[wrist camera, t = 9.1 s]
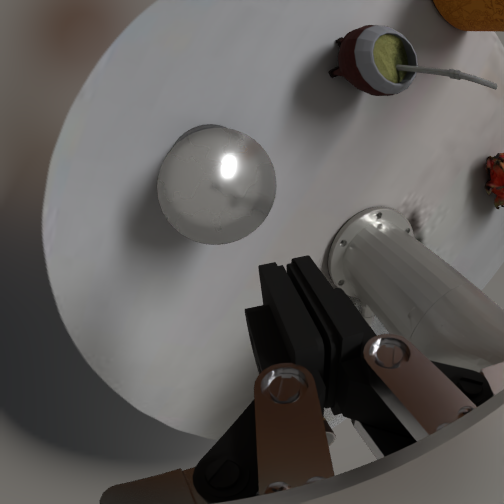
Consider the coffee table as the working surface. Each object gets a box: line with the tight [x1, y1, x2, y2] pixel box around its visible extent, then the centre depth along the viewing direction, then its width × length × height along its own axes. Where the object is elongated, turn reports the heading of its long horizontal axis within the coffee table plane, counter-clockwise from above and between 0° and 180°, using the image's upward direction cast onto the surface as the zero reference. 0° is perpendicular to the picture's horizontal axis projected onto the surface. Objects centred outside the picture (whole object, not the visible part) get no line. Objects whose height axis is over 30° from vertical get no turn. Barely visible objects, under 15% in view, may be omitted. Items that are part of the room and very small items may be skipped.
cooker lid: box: [157, 128, 276, 245], centre depth 22 cm, size 8×8×1 cm
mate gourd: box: [329, 25, 497, 96], centre depth 21 cm, size 8×8×15 cm
